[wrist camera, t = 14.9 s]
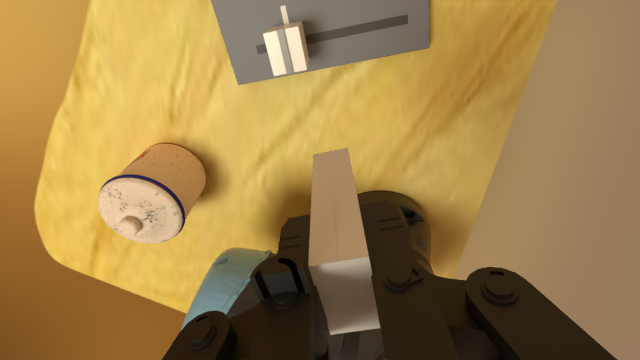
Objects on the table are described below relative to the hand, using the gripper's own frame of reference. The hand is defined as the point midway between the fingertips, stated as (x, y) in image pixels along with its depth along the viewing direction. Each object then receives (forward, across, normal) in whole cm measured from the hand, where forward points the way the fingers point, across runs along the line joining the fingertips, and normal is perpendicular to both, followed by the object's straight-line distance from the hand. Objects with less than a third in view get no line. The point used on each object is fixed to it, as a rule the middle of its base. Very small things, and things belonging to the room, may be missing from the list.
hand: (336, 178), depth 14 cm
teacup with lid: (+25, +23, +9) cm, 35 cm away
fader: (+21, +3, -4) cm, 22 cm away
